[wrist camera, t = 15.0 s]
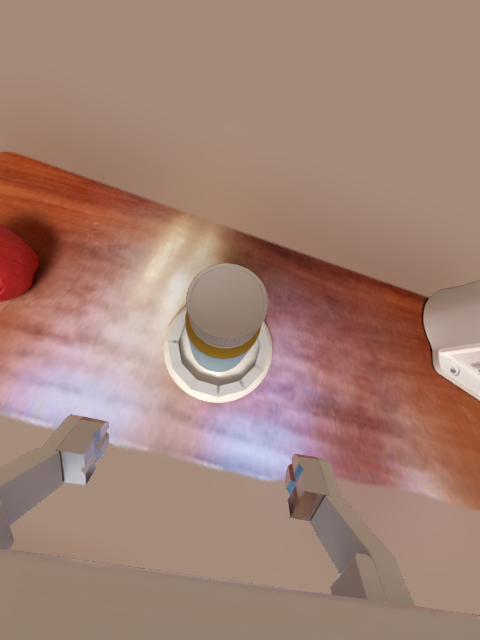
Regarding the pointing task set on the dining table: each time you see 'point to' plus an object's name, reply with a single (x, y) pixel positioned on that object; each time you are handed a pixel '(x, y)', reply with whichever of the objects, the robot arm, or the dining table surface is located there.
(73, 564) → the robot arm
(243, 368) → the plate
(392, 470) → the dining table surface
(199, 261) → the dining table surface
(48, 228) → the dining table surface
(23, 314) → the dining table surface
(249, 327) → the bottle
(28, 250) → the pomegranate
